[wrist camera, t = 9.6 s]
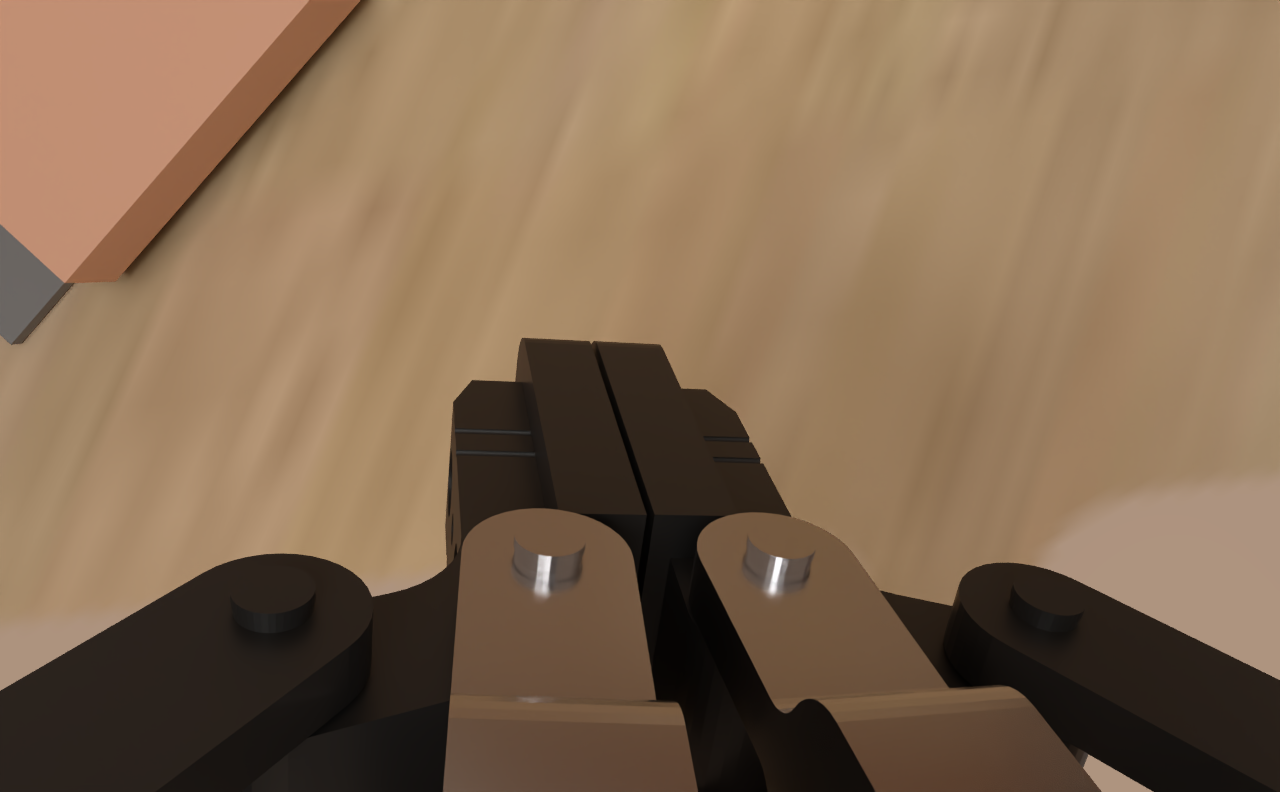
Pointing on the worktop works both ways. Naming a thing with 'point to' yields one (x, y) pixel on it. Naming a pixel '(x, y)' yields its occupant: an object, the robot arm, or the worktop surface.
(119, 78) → the tile
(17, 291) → the mat
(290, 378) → the worktop surface
